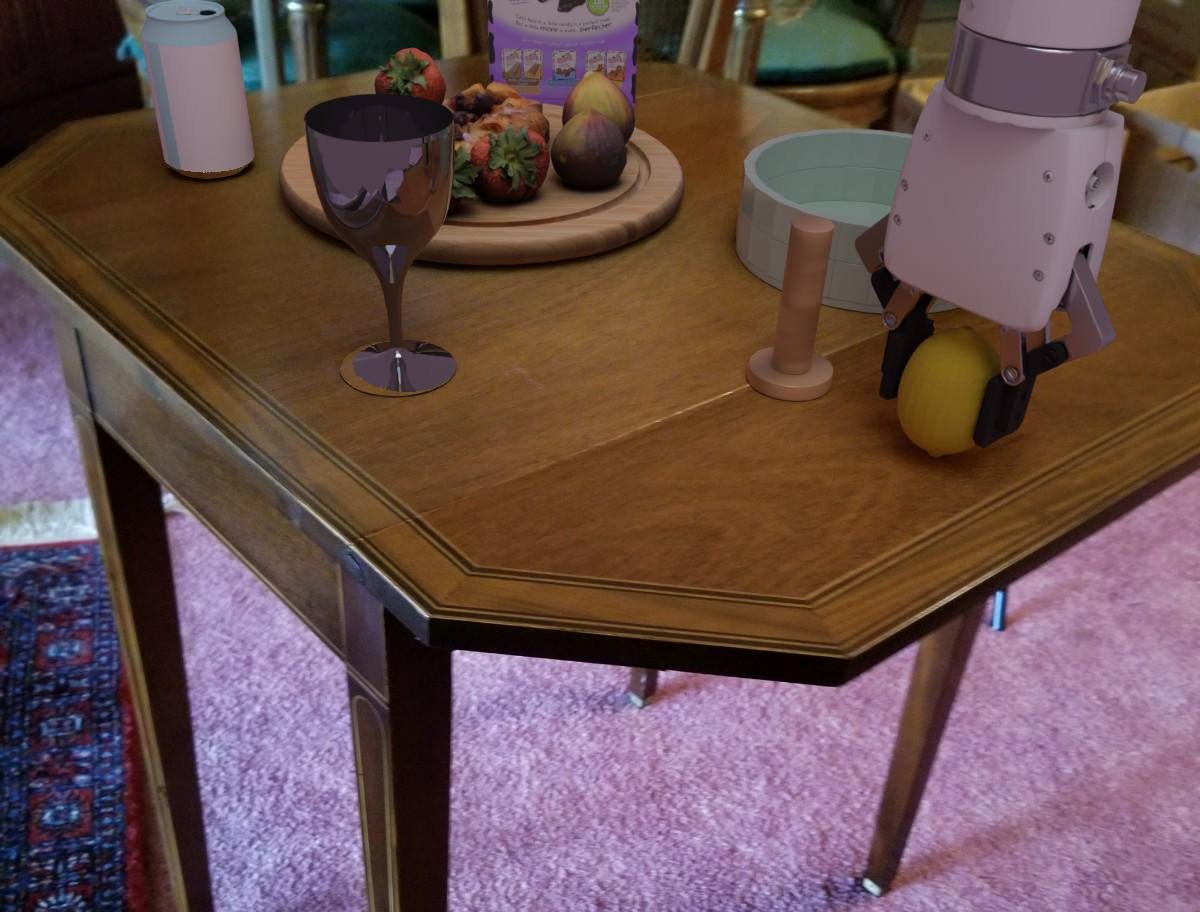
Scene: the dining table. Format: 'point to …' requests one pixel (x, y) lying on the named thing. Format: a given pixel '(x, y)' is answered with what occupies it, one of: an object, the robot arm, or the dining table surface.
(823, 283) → the stirrer
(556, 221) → the wooden plate
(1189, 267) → the dining table surface
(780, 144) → the bowl
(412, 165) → the wine glass
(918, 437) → the lemon
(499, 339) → the dining table surface
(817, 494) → the dining table surface
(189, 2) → the can
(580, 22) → the candy box
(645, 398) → the dining table surface
